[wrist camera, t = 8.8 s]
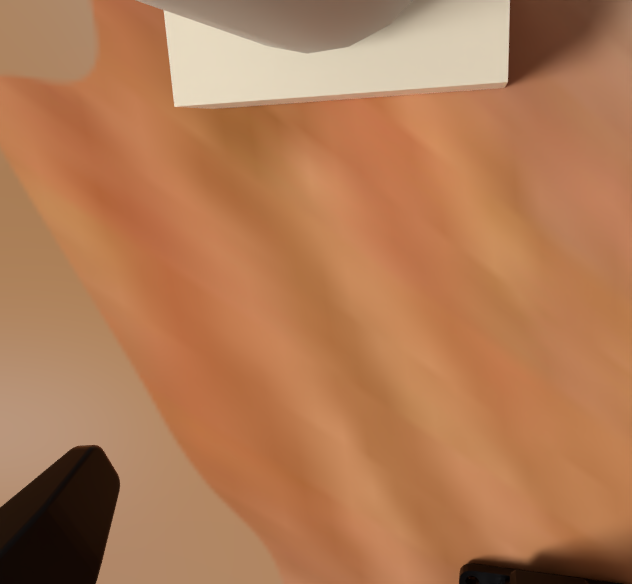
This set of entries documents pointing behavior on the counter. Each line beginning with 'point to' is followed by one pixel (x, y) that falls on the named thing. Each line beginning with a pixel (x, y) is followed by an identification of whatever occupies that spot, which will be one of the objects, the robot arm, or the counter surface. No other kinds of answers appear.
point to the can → (291, 20)
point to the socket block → (345, 59)
